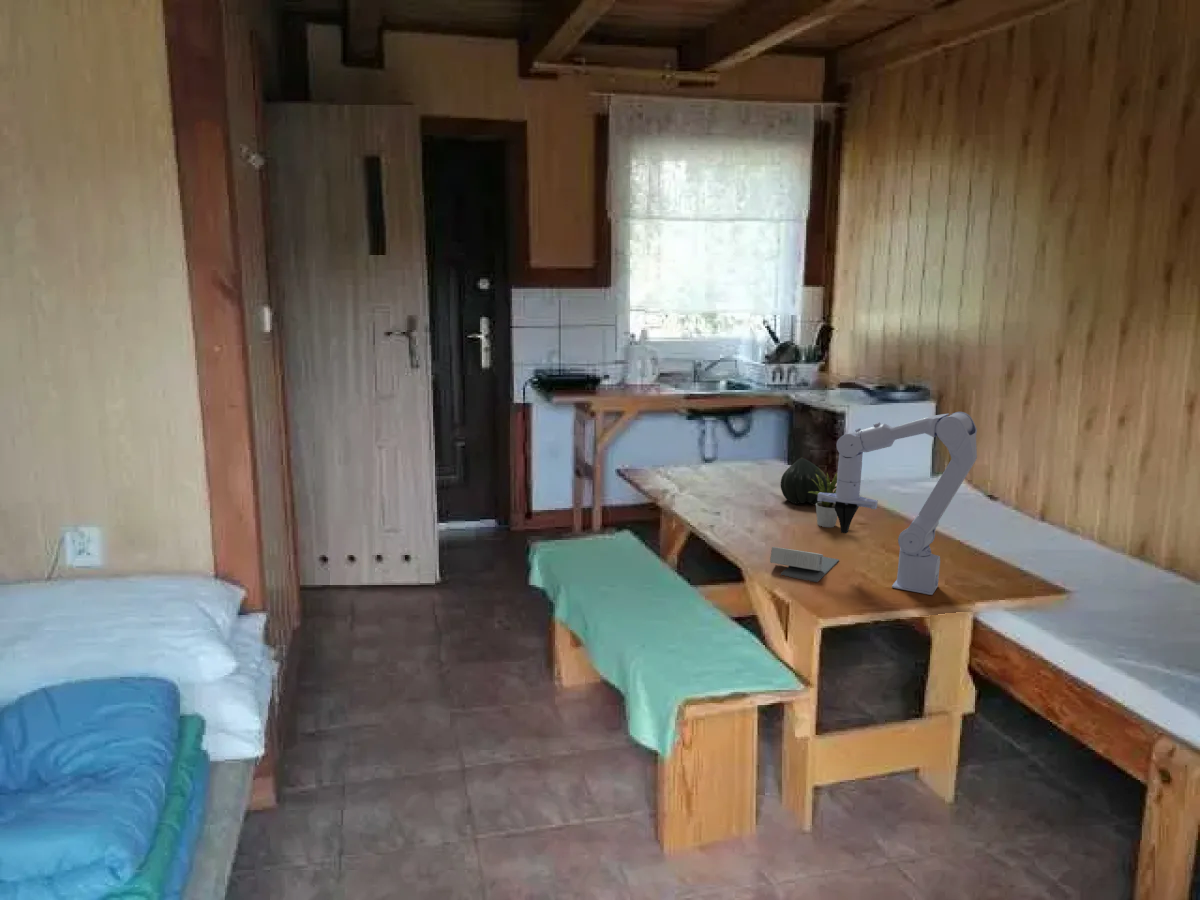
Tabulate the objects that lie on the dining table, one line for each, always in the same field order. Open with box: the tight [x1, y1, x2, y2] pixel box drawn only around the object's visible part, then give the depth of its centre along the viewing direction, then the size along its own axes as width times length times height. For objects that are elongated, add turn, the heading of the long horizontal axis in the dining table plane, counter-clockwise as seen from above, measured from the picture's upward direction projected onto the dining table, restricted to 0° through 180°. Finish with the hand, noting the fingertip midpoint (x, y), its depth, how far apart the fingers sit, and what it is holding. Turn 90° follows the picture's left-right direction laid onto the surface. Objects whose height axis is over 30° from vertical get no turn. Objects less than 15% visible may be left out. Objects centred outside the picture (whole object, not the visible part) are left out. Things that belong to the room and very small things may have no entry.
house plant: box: [808, 470, 838, 528], centre depth 275 cm, size 14×14×16 cm
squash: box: [780, 457, 827, 506], centre depth 303 cm, size 14×15×15 cm
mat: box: [779, 556, 840, 583], centre depth 239 cm, size 10×20×1 cm, turn 151°
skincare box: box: [769, 546, 824, 571], centre depth 236 cm, size 6×4×12 cm
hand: (844, 532), depth 235 cm, fingers closed
